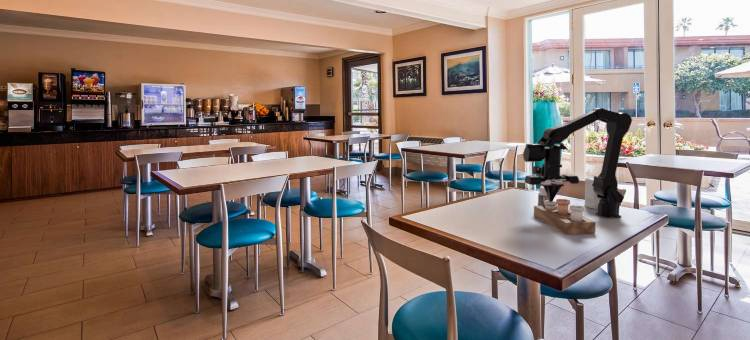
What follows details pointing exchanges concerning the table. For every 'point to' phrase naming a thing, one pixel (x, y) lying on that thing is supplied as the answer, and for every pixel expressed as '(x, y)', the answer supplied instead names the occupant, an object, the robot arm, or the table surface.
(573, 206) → the grey plug
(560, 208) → the terracotta plug middle
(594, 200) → the skincare box
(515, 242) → the table surface
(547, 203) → the grey plug
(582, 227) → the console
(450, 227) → the table surface
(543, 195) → the pill bottle
